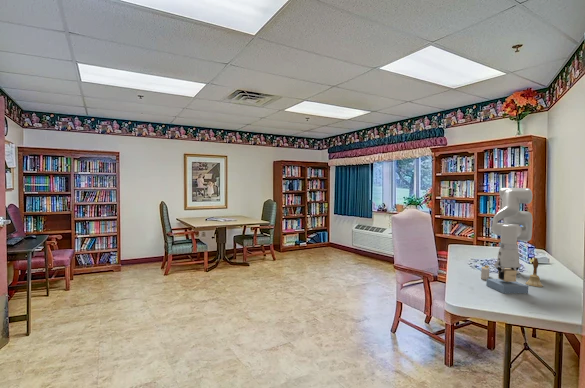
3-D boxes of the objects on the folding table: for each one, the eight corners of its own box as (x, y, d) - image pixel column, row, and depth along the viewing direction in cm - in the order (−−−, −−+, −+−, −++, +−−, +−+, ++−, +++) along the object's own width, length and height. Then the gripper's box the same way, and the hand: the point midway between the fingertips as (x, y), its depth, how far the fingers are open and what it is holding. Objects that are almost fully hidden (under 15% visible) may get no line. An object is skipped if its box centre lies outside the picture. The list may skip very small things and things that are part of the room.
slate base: (486, 285, 189) (486, 278, 189) (509, 285, 190) (509, 278, 190) (503, 293, 175) (503, 286, 175) (528, 293, 176) (528, 286, 176)
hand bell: (540, 284, 195) (542, 257, 195) (544, 287, 188) (546, 260, 187) (524, 281, 199) (525, 256, 198) (527, 285, 191) (528, 258, 191)
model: (481, 279, 203) (481, 267, 203) (483, 276, 211) (483, 264, 211) (486, 280, 201) (487, 268, 201) (489, 277, 209) (489, 265, 209)
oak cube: (498, 278, 185) (498, 267, 185) (508, 278, 186) (508, 268, 186) (505, 281, 179) (506, 270, 179) (516, 281, 180) (516, 270, 180)
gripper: (498, 247, 178) (496, 280, 178) (528, 248, 179) (526, 280, 179) (489, 245, 185) (487, 276, 186) (518, 245, 186) (516, 276, 187)
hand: (507, 278), depth 183 cm, fingers closed on oak cube, 5 cm apart
